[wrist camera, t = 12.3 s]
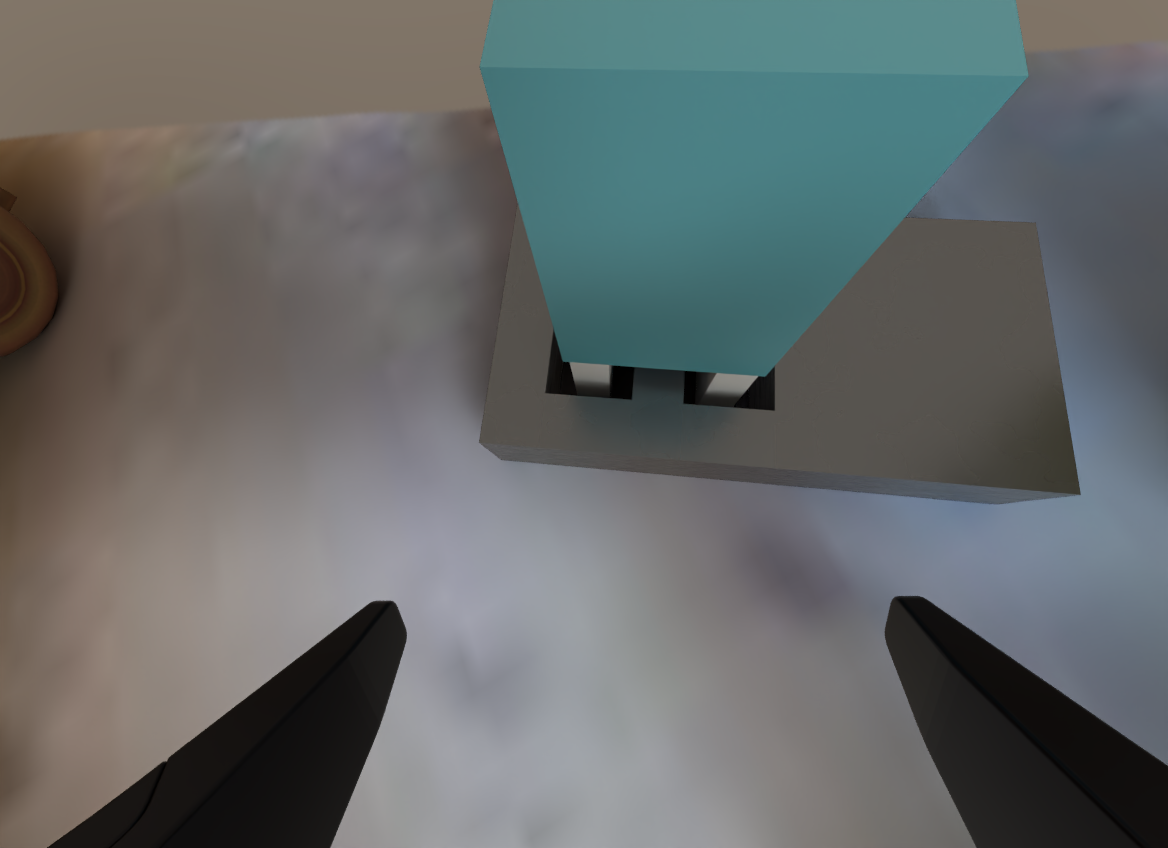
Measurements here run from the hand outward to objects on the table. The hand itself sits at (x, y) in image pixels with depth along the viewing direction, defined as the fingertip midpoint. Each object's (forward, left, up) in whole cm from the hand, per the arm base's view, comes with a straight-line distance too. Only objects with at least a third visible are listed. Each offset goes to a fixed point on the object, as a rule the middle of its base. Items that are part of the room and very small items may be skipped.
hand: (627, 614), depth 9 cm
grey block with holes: (+5, -8, -8) cm, 12 cm away
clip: (+7, -5, -8) cm, 12 cm away
